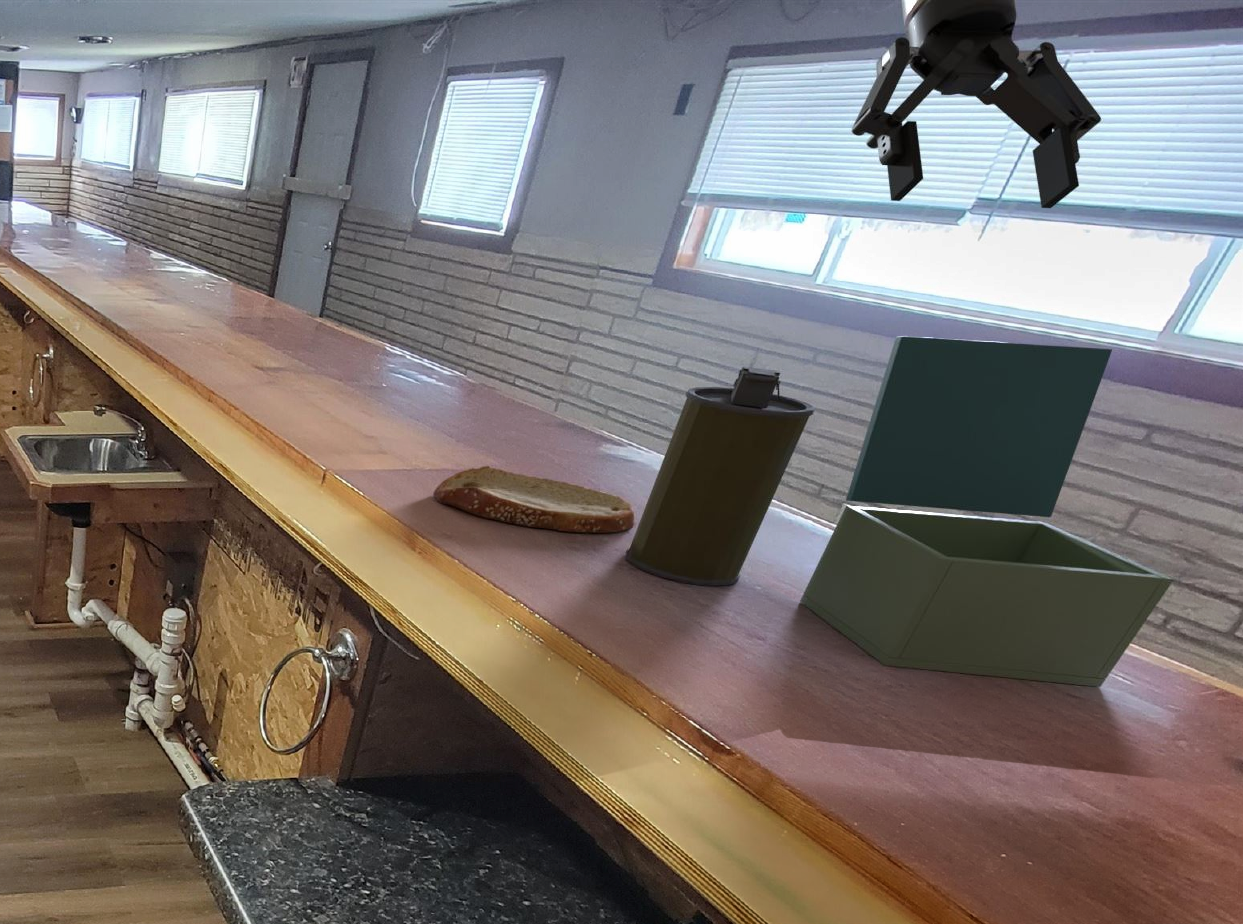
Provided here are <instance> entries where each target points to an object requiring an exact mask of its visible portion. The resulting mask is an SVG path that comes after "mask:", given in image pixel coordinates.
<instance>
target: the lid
mask: <svg viewBox="0 0 1243 924" xmlns="http://www.w3.org/2000/svg"><path fill="white" fill-rule="evenodd" d="M893 342H894V343H893V345H892V348H891V352H890V355H889V358H888V361H887V365H886V369H885V371H884V374H883V378H882V380H881V384H880V387H879V391H878V394H877V397H876V400H875V404H874V407H873V411H872V413H871V417H870V420H869V424H868V426H867V429H866V433H865V436H864V439H863V442H862V446H861V450H860V452H859V456H858V459H857V462H856V465H855V469H854V472H853V476H852V478H851V482H850V485H849V488H848V492H847V495H846V497H845V501H847V502H859V503H868V504H869V503H871V504H882V505H892V506H893V505H894V506H904V507H905V506H907V507H919V508H930V509H945V510H954V511H967V512H969V511H970V512H979V513H993V514H1005V515H1016V516H1028V517H1042V518H1051V517H1052V515H1053V513H1054V510H1055V507H1056V506H1057V502H1058V499H1059V496H1060V495H1061V494H1060V493H1061V491H1062V488H1063V485H1064V482H1065V480H1066V477H1067V475H1068V472H1069V469H1070V467H1071V463H1072V461H1073V458H1074V455H1075V452H1076V450H1077V447H1078V445H1079V442H1080V439H1081V436H1082V433H1083V432H1084V428H1085V425H1086V422H1087V420H1088V417H1089V414H1090V413H1091V409H1092V406H1093V403H1094V401H1095V398H1096V395H1097V392H1098V390H1099V387H1100V385H1101V382H1102V379H1103V376H1104V373H1105V371H1106V368H1107V366H1108V362H1109V360H1110V358H1111V355H1112V353H1113V349H1112V348H1098V347H1082V346H1067V345H1053V344H1051V345H1050V344H1035V343H1018V342H1002V341H987V340H972V339H971V340H970V339H957V338H956V339H955V338H941V337H940V338H938V337H923V336H910V335H909V336H908V335H901V336H896V337H895V339H894V341H893Z"/></svg>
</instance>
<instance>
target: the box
mask: <svg viewBox="0 0 1243 924" xmlns="http://www.w3.org/2000/svg"><path fill="white" fill-rule="evenodd" d="M1174 580H1175V579H1174V578H1172V577H1170V576H1168V575H1165V574H1163V573H1160V572H1158V571H1156V570H1154V569H1151V568H1149V567H1147V566H1145V565H1142V564H1141V563H1138V562H1136V561H1133V560H1131V559H1129V558H1127V557H1125V556H1122V555H1121V554H1117V553H1115V552H1114V551H1111V550H1108V549H1106V548H1104V547H1101V546H1100V545H1097V544H1095V543H1092V542H1090V541H1088V540H1086V539H1084V538H1081V537H1079V536H1077V535H1075V534H1072V533H1070V532H1067V531H1065V530H1063V529H1061V528H1058V527H1057V526H1055V525H1052V524H1050V523H1047V522H1046V521H1036V520H1024V519H1015V518H1014V519H1013V518H1003V517H1002V518H1001V517H990V516H988V517H987V516H975V515H964V514H953V513H952V514H951V513H939V512H927V511H916V510H906V509H905V510H903V509H894V508H893V509H892V508H879V507H867V506H854V505H846V506H845V507H844V509H843V512H842V513H841V516H840V518H839V520H838V522H837V524H836V526H835V528H834V530H833V532H832V534H831V536H830V538H829V541H828V542H827V544H826V547H825V549H824V551H823V552H822V554H821V557H820V559H819V561H818V563H817V565H816V567H815V569H814V571H813V573H812V575H811V577H810V580H809V582H808V583H807V586H806V588H805V590H804V592H803V595H802V596H801V598H800V600H799V602H800V603H801V605H803V606H805V607H806V608H807V609H809V610H810V611H812V612H813V613H814V614H816V616H818V617H819V618H821V620H824V621H825V622H826V623H828V624H829V625H830V626H832V627H833V628H834V629H835V630H836V631H838V632H839V633H841V634H842V635H844V636H845V637H846V638H847V639H849V640H850V641H851V642H853V643H854V644H855V645H856V646H858V647H860V648H861V649H862V650H863V651H865V652H866V653H868V654H869V655H870V656H872V657H873V658H874V659H875V660H877V661H878V662H879V663H881V664H882V665H883V666H887V667H898V668H907V669H908V668H909V669H915V670H927V671H938V672H947V673H955V674H956V673H957V674H967V675H978V676H985V677H986V676H988V677H996V678H1006V679H1018V680H1027V681H1036V682H1045V683H1046V682H1047V683H1057V684H1067V685H1075V686H1076V685H1078V686H1088V687H1095V688H1096V687H1097V688H1100V687H1102V685H1103V684H1104V683H1105V681H1106V679H1107V678H1108V677H1109V675H1110V674H1111V672H1112V671H1113V670H1114V668H1115V667H1116V665H1117V664H1118V662H1119V661H1120V659H1121V658H1122V657H1123V655H1124V653H1126V651H1127V649H1128V647H1129V646H1130V644H1132V642H1133V641H1134V639H1135V638H1136V636H1137V635H1138V633H1139V632H1140V630H1141V628H1142V627H1143V626H1144V625H1145V623H1146V622H1147V620H1148V619H1149V617H1150V615H1151V614H1152V612H1153V611H1154V610H1155V608H1156V607H1157V605H1158V604H1159V602H1160V601H1161V600H1162V598H1163V597H1164V595H1165V594H1166V592H1167V591H1168V589H1169V588H1170V586H1171V585H1172V584H1173V582H1174Z"/></svg>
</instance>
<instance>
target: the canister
mask: <svg viewBox="0 0 1243 924" xmlns="http://www.w3.org/2000/svg"><path fill="white" fill-rule="evenodd" d="M780 375H781V372H780V370H773V369H765V368H758V367H750V366H742V367H741V369H739V371H738V375H737V378H736V379H735V380H734V383H733V384H732V386H733V387H720V386H698V387H697V386H696V387H692V388H689V389H688V390H687V391H686V393H685V397H686V399H685V401H684V405H683V407H682V409H681V412H680V415H679V417H678V421H677V423H676V425H675V428H674V431H673V434H672V436H671V438H670V441H669V444H668V446H667V449H666V452H665V455H664V457H663V460H662V462H661V465H660V468H659V469H658V473H657V475H656V478H655V481H654V484H653V487H652V489H651V491H650V494H649V497H648V500H647V502H646V504H645V507H644V510H643V512H642V515H641V518H640V521H639V523H638V526H637V528H636V531H635V534H634V536H633V538H632V540H631V541H632V542H631V544H630V547H629V548H627V549H626V551H625V559H626V560H627V561H628V562H629V563H631V564H632V565H633V566H635V567H636V568H637V569H639V570H642V571H644V572H646V573H649V574H652V575H654V576H657V577H660V578H664V579H667V580H670V581H675V582H678V583H683V584H689V585H695V586H704V587H708V586H709V587H714V586H715V587H716V586H719V587H720V586H731V585H733V584H735V583H737V582H738V581H739V580H740V579H741V571H742V569H743V566H744V564H745V561H746V559H747V557H748V555H749V553H750V550H751V548H752V545H753V544H754V542H755V539H756V537H757V534H758V532H759V530H760V528H761V525H762V523H763V521H764V519H765V516H766V515H767V512H768V510H769V508H770V506H771V504H772V501H773V499H774V496H775V494H776V492H777V490H778V488H779V486H780V483H781V481H782V479H783V476H784V475H785V472H786V470H787V467H788V465H789V463H790V461H791V458H792V457H793V454H794V452H795V450H796V447H797V445H798V443H799V441H800V438H801V436H802V434H803V432H804V429H805V428H806V425H807V424H808V420H809V418H810V416H813V415H814V413H815V411H816V409H815V407H814V406H813V405H811V404H810V403H808V402H805V401H803V400H799V399H796V398H793V397H789V396H784V395H780V383H781V381H780V378H781V377H780ZM775 390H776V391H777V394H775V393H774V392H775Z"/></svg>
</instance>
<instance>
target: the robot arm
mask: <svg viewBox="0 0 1243 924" xmlns="http://www.w3.org/2000/svg"><path fill="white" fill-rule="evenodd" d="M900 1H901V9H902V17H903V25H904V29H905V33H904V34H905V37H898V38H896V39H895V40H894V42H893V43H892V44H891V45H890V46H889V47H888V49H886V51H885V52H884V53H883V54H882V55H881V57H880V58H879V59H878V60H877V62H876V63H875V67H876V68H875V70H876V72H875V73H876V78H875V80H874V82H873V84H872V86H871V89H870V90H869V92H868V93H867V96H866V98H865V101H864V103H863V105H862V106H861V108H860V110H859V113H858V115H857V117H856V119H855V121H854V123H853V124H852V127H851V133H852V134H853V135H855V136H857V137H861V136H864V135H865V134H868V135H871V136H870V137H868V139H867V140H866V142H865V143H866V146H867V147H868V148H869V149H877V150H878V151H877V152H878V160H879V162H880V164H881V166H886V167H887V176H888V177H887V179H888V186H889V194H890V195H889V196H890V201H892V202H901V201H902V200H903V199H904V197H906V196H907V195H908V194H909V193H910V192H911V191H912V190H913V189H914V188H915V187H916V186H917V185H919V184H920V182H921V181H923V180H924V172H923V164H922V156H921V147H920V140H919V139H920V138H919V132H918V124H917V121H916V120H907V121H906V122H905V123H904V124H903V122H904V121H905V120H906V119H907V118H908V117H909V116H910V115H911V114H912V113H913V112H914V110H916V108H917V107H918V106H919V105H920V104H922V102H923V101H924V100H925V99H926V98H927V97H928V96H929V95H930V93H932V91H934V90H935V91H936V92H939V93H940V96H953V95H954V96H955V95H962V96H967V97H975V98H977V99H978V100H979V101H980V102H981V103H982V104H984V105H985V106H990V105H994V106H995V107H996V108H998V109H999V110H1000V111H1001V112H1002V113H1003V114H1005V115H1006V116H1007V117H1008V118H1009V119H1010V120H1011V121H1013V123H1015V124H1016V125H1017V126H1018V127H1020V129H1022V130H1023V131H1024V132H1025V133H1026V134H1028V135H1029V136H1030V137H1031V138H1032V139H1033V140H1034V141H1036V142H1037V143H1038V145H1037V146H1035V148H1034V149H1033V150H1032V156H1033V157H1032V158H1033V163H1034V169H1035V176H1036V182H1037V188H1038V194H1039V200H1040V201H1039V202H1040V206H1041V209H1052V208H1054V207H1055V206H1056V205H1057V204H1058V203H1060V202H1061V201H1062V200H1063V199H1064V198H1066V197H1067V196H1068V195H1069V194H1070V193H1072V192H1073V191H1074V190H1076V189H1077V188H1078V187H1079V186H1080V183H1079V177H1078V171H1077V166H1076V164H1077V163H1079V161H1080V158H1081V153H1080V149H1079V142H1078V141H1079V140H1081V139H1082V138H1083V137H1084V136H1085V135H1087V133H1089V132H1090V131H1091V130H1093V128H1094V127H1096V126H1097V125H1098V124H1099V123H1101V121H1102V117H1101V115H1100V114H1099V112H1098V111H1097V110H1096V109H1095V107H1094V106H1093V105H1092V103H1091V102H1090V101H1089V99H1088V98H1087V97H1086V96H1085V94H1084V93H1083V91H1081V89H1080V88H1079V87H1078V85H1077V84H1076V83H1075V81H1074V80H1073V78H1072V77H1071V76H1070V75H1069V73H1068V72H1067V71H1066V69H1065V68H1064V67H1063V65H1062V64H1061V63H1060V61H1059V60H1058V56H1057V52H1056V48H1055V45H1054V44H1053V43H1051V42H1048V41H1044V42H1041V43H1040V44H1039V45H1038V46H1037V47H1036V48H1035V49H1034V50H1033V49H1032V50H1020V48H1019V46H1018V45H1017V44H1016V43H1015V42H1014V40H1013V38H1012V37H1013V33H1014V29H1015V27H1016V22H1017V17H1018V16H1017V15H1018V14H1017V8H1016V1H1015V0H900ZM908 66H909V67H910V68H911V70H912V71H913V72H914V73H915V74H916V75H918V77H920V78H921V79H922V82H921V83H919V85H918V86H917V87H915V89H914V90H913V91H912V92H911V93H910V94H909V95H908V96H907V97H906V99H904V100H903V102H901V103H900V105H898V107H896V109H895V110H894V111H893V112H892V113H889V112H885V111H886V110H887V109H886V108H887V107H888V105H889V104H890V101H891V99H892V97H893V95H894V92H895V90H896V88H897V87H898V84H899V83H900V80H901V78H902V76H903V74H904V72H905V70H906V68H907V67H908ZM1004 74H1006V75H1007V77H1006V78H1005V79H1004V80H1003V81H1002V82H1001V83H1000V84H999V85H998V86H997V87H996V88H995V89H994V88H992V87H993V86H994V85H995V84H996V83H997V82H998V81H999V80H1000V79H1001V78H1002V76H1003V75H1004Z"/></svg>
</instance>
